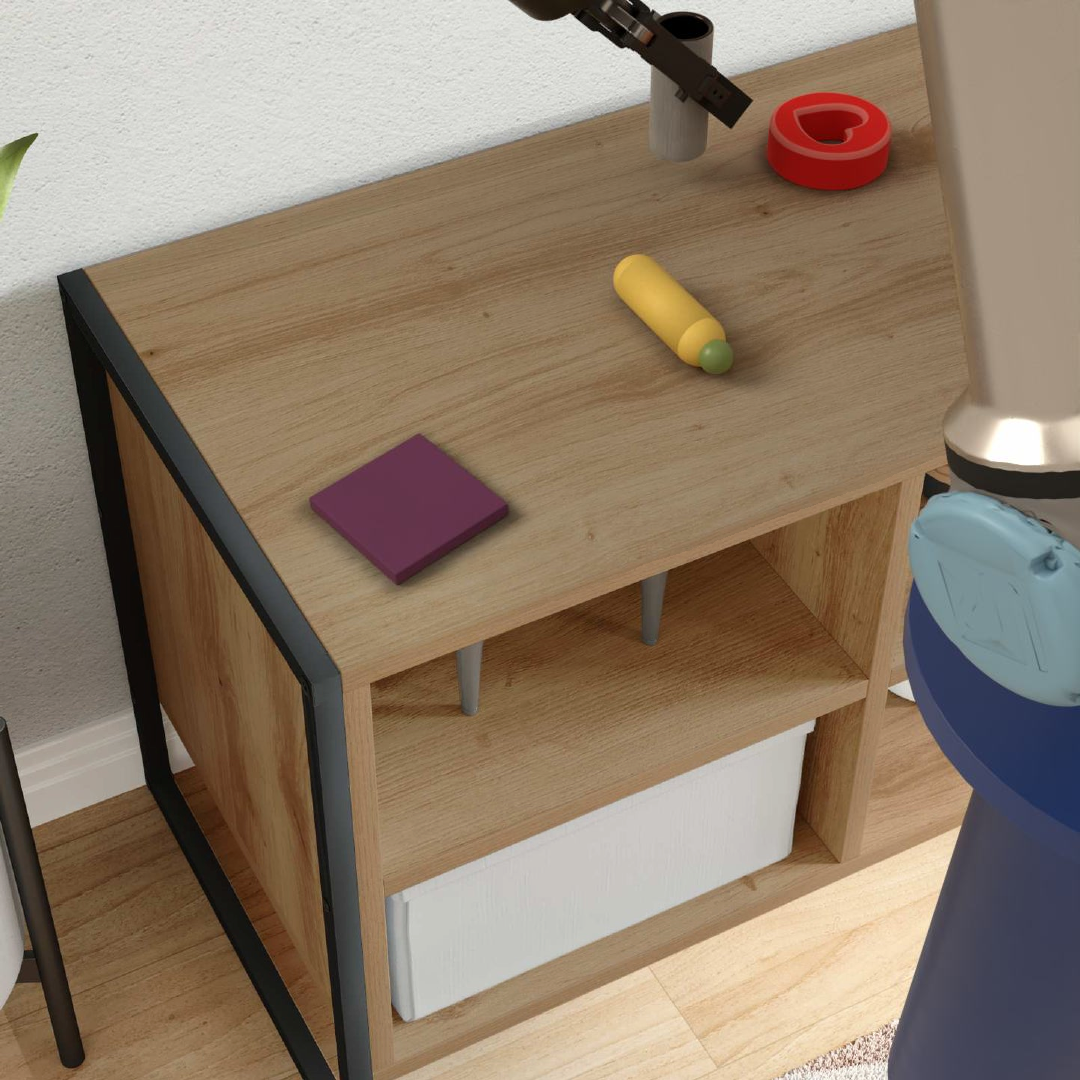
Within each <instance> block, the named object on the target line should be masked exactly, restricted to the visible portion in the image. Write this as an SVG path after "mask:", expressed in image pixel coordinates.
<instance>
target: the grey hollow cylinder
mask: <svg viewBox="0 0 1080 1080" xmlns="http://www.w3.org/2000/svg"><path fill="white" fill-rule="evenodd" d="M655 21H657V22H658V23H659V24H660V25H661V26H662V27H664V28H665V29H666V30H667V31H668V32H670V33H671V34H672V35H673V36H675V37H676V38H677V39H678V40H679V41H681V42H682V43H683V44H684V45H685V46H687V47H688V48H689V49H690V50H691V51H693V52H694V53H695V54H696V55H698V56H699V57H700V58H703V59H704V60H706V61H707V62H708V63H709V64H710V65H711V66H712V65H713V52H714V51H713V49H714V35H715V34H714V33H715V26H714V24H713V22H712V20H711V19H710V18H708V17H707V16H705V15H703V14H702V13H699V12H693V11H687V10H685V11H683V10H681V11H672V12H668V13H665V14H663V15H661V16H660V17H659V18H657V19H656V20H655ZM678 87H679V86H678V85H677V84H676V83H675V82H673V81H672V80H671V79H669V78H668V77H667V76H666V75H664V74H663V73H662V72H661V71H659V70H658V69H657V68H655V67H654V66H653V65H652V64H651V65H650V87H649V89H650V91H649V92H650V93H649V124H648V148H649V151H650V152H651V153H652V155H654V157H656V158H658V159H659V160H663V161H666V162H671V163H685V162H692V161H694V160H696V159H699V158H700V157H701V156H702V155H704V153H705V152H706V150H707V143H708V131H709V116H710V115H709V114H710V112H708V111H707V110H706V109H704V108H703V107H702V106H701V105H699V104H698V103H697V102H696V101H694V100H693V99H691V98H690V97H688V98H687V100H686V101H685V102H684V103H683V102H682V101H680V100H679V99H678V98H677V97H676V96H674V95H675V94H676V92H677V91H678V90H679V88H678Z"/></svg>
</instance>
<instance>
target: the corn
mask: <svg viewBox="0 0 1080 1080" xmlns="http://www.w3.org/2000/svg"><path fill="white" fill-rule="evenodd" d="M612 283H613V288H614V290H615V293H616V294H617V296H618V297H619V298H620V299H621V300H622V301H623V302H624V303H625V304H626V305H627V306H628V307H629V308H630V309H631V310H632V311H633V312H634V314H636V315H637V316H638V317H639V318H640V319H641V320H642V321H643V322H644V323H645V324H646V325H647V327H648V328H650V330H651V331H653V332H654V333H655V335H657V337H659V338H660V340H662V342H663V343H664V344H665V345H666V346H668V347H669V349H670V350H671V351H672V352H673V353H675V355H676V356H677V357H678V358H679V359H680V360H681V361H683V362H684V363H685V364H686V365H689V366H692V367H698V368H702V370H703V371H704V372H706V373H708V374H711V375H721V374H723V373H725V372H727V371H728V370H729V369H730V368H731V366H732V365H733V363H734V350H733V348H732V347H731V345H730V344H729V343H728V342H727V338H726V332H725V330H724V328H723V326H722V325H721V323H720V321H718V320H717V319H716V318H715V317H714V316H713V315H712V314H711V313H710V312H709V311H708V310H707V308H705V307H704V306H703V305H701V303H700V302H698V301H697V300H696V299H695V298H694V296H692V294H691V293H689V291H687V290H686V289H685V288H684V287H683V286H682V285H681V284H680V283H679V282H678V281H676V279H675V278H674V277H673V276H671V275H670V273H668V272H667V271H666V270H665V268H663V267H662V266H661V264H659V263H658V262H657V261H656V260H655V259H654V258H652V257H650V256H648V255H645V254H641V253H639V254H637V253H635V254H632V255H631V254H630V255H629V256H626V257H625V258H623V259H622V260H620V261H619V263H618V264H617V265H616V267H615V268H614V272H613V277H612Z"/></svg>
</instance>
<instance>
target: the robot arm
mask: <svg viewBox="0 0 1080 1080" xmlns="http://www.w3.org/2000/svg"><path fill="white" fill-rule="evenodd" d="M507 1H509V2H510V3H511V4H512V5H513V6H515V8H518V9H519V10H520V11H522V12H523V13H524V14H526V15H527V16H528V17H529V18H531V19H533V20H536V21H540V22H551V21H557V20H559V19H562V18H564V17H566V16H568V15H571V16H572V17H573V18H574V19H575V20H577V21H578V22H579V23H581V24H582V25H583V26H585V27H586V28H587V29H588V30H590V31H591V32H593V33H594V32H596V33H599V34H601V35H602V36H603V37H605V38H606V39H607V40H608V41H609V42H611V43H612V44H614V45H615V46H616V47H617V48H618V49H628V50H631V51H632V52H635V53H636V54H637V55H639V56H640V58H641V60H643V61H644V62H645V63H647V64H648V65H650V66H651V64H652V65H653V66H654V67H655V68H657V69H658V70H659V71H661V72H662V73H663V74H664V75H666V76H667V77H668V78H669V79H671V80H672V81H673V82H675V83H676V84H677V85H678V86H679V87H678V88H679V90H678V91H677V92H676V94H675V95H674V96H676V97H677V98H678V99H679V100H680V101H682V102H683V103H684V102H685V101H686V100H687V98H688V97H690V98H691V99H693V100H694V101H696V102H697V103H698V104H699V105H701V106H702V107H703V108H704V109H706V110H707V111H708V112H709V114H711V115H712V116H713V117H715V118H716V119H717V120H719V121H720V122H721V123H722V124H723V125H725V126H726V127H727V128H729V129H730V130H732V129H733V128H734V127H735V125H736V124H737V123H738V121H739V120H740V119H741V118H742V116H743V115H744V113H746V111H747V110H748V108H749V107H750V106H751V104H752V103H753V102H754V99H752V98H751V97H750V96H749V95H748V94H746V92H744V91H743V90H741V89H740V88H739V87H738V86H737V85H736V84H735V83H733V82H732V81H730V79H728V78H727V77H726V75H725V76H724V74H723V73H721V72H720V71H719V70H718V68H717V67H715V66H714V65H713V64H712V66H711V65H710V64H709V63H708V62H707V61H706V60H704V59H703V58H700V57H699V56H698V55H696V54H695V53H694V52H693V51H691V50H690V49H689V48H688V47H687V46H685V45H684V44H683V43H682V42H681V41H679V40H678V39H677V38H676V37H675V36H673V35H672V34H671V33H670V32H668V31H667V30H666V29H665V28H664V27H662V26H661V25H660V24H659V23H658V22H657V21H655V20H656V19H657V18H659V17H660V16H662V15H661V14H660V13H658V12H657V11H656V10H655V9H652V10H651V7H649V6H648V5H647V4H646V3H645V2H643V1H642V0H507ZM913 6H914V7H913V8H914V13H915V19H916V27H917V35H918V40H919V48H920V54H921V55H920V56H921V61H922V66H923V74H924V80H925V81H924V82H925V88H926V94H927V101H928V107H929V115H930V121H931V122H930V123H931V128H932V134H933V136H932V137H933V142H934V148H935V149H934V150H935V155H936V161H937V170H938V175H939V182H940V188H941V194H942V195H941V196H942V202H943V209H944V216H945V222H946V229H947V236H948V242H949V249H950V256H951V262H952V270H953V276H954V283H955V290H956V291H955V292H956V296H957V304H958V311H959V317H960V324H961V330H962V331H961V332H962V337H963V343H964V351H965V357H966V364H967V371H968V377H969V384H967V386H966V387H965V388H964V389H963V391H962V392H961V393H960V394H959V395H958V396H957V397H956V398H955V400H954V401H953V402H952V403H951V404H950V405H949V406H948V408H947V410H946V411H945V413H944V415H943V419H942V422H941V427H942V436H943V443H944V449H945V454H946V455H945V456H946V462H947V466H948V467H947V468H948V474H949V483H950V484H949V489H948V491H946V492H941V493H939V494H934V495H932V496H931V497H930V498H929V499H928V500H927V502H926V503H925V505H924V507H923V508H922V509H921V510H920V511H919V515H918V516H917V517H916V518H914V520H913V521H912V522H911V525H910V527H909V532H908V537H907V538H908V540H907V552H908V553H907V554H908V561H909V564H910V569H911V572H912V576H913V578H914V579H915V582H916V585H917V587H918V590H919V592H920V594H921V596H922V598H923V600H924V602H925V604H926V606H927V608H928V609H929V611H930V613H931V614H932V616H933V617H934V619H935V620H936V622H937V623H938V625H939V626H940V628H941V629H942V630H943V632H944V633H945V634H946V636H947V637H948V638H949V639H950V640H951V641H952V642H953V643H954V644H955V645H956V646H957V647H958V648H959V649H960V650H961V652H962V653H963V654H964V655H965V656H966V657H967V658H968V659H969V660H970V661H971V662H972V663H973V664H974V665H975V666H976V667H978V668H979V669H980V670H981V671H982V672H984V673H985V674H986V675H988V676H989V677H990V678H992V679H993V680H994V681H996V682H997V683H999V684H1000V685H1002V686H1004V687H1005V688H1007V689H1009V690H1011V691H1013V692H1014V693H1016V694H1018V695H1021V696H1023V697H1025V698H1028V699H1030V700H1033V701H1036V702H1039V703H1043V704H1047V705H1053V706H1063V707H1071V706H1080V0H913Z"/></svg>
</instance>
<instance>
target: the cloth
mask: <svg viewBox="0 0 1080 1080" xmlns="http://www.w3.org/2000/svg"><path fill="white" fill-rule="evenodd" d="M308 500H309V505H310V509H311V510H312V511H313V512H314V513H316V514H317V515H318V516H319V517H320V518H321V519H322V520H324V522H325V523H327V524H328V525H329V526H330V527H331V528H332V529H334V531H335V532H337V533H338V534H339V536H341V537H342V538H344V539H345V540H346V541H347V542H348V543H349V544H350V545H352V546H353V547H354V548H355V549H356V550H357V551H358V552H359V553H360V554H361V555H362V556H364V557H365V558H366V559H367V560H368V561H369V562H370V563H372V564H373V565H374V567H376V568H377V569H378V570H379V571H381V573H383V574H384V575H385V576H386V577H387V578H388V579H389V580H391V581H392V582H393V583H394V584H395V585H396V586H397V585H400V584H401V583H403V582H405V581H406V580H408V579H409V578H411V577H413V576H414V575H416V574H417V573H419V572H420V571H421V570H423V569H425V568H426V567H428V566H430V565H431V564H433V563H434V562H436V561H437V560H439V559H441V558H442V557H444V556H445V555H447V554H448V553H450V552H451V551H453V550H455V549H456V548H458V547H460V546H461V545H462V544H464V543H466V542H467V541H469V540H470V539H472V538H473V537H475V536H477V535H478V534H479V533H481V532H483V531H485V530H486V529H487V528H489V527H491V526H492V525H494V524H495V523H497V522H499V521H500V520H502V519H504V518H505V517H507V515H509V504H508V502H506V501H505V500H504V499H503V498H502V497H500V496H499V495H498V494H497V493H495V492H494V491H493V490H491V489H490V488H489V487H488V486H486V485H485V484H484V483H482V482H481V481H480V480H479V479H478V478H477V477H475V476H474V475H472V474H471V473H470V472H469V471H468V470H467V469H465V468H464V467H463V466H461V465H460V464H459V463H458V462H456V460H454V459H452V458H451V457H450V456H449V455H448V454H446V453H445V452H444V451H443V450H441V449H440V448H439V447H438V446H436V445H435V444H434V443H433V442H432V441H430V440H429V439H427V438H426V437H425V436H424V435H423V434H422V433H420V432H418V433H416V434H415V435H413V436H411V437H410V438H408V439H406V440H404V441H403V442H401V443H399V444H398V445H396V446H394V447H393V448H391V449H389V450H387V451H386V452H384V453H382V454H380V455H379V456H377V457H376V458H374V459H372V460H371V461H368V462H367V463H365V464H363V465H362V466H360V467H359V468H356V469H355V470H353V471H352V472H350V473H348V474H347V475H345V476H343V477H341V478H340V479H338V480H336V481H335V482H333V483H331V484H330V485H327V486H326V487H324V488H323V489H321V490H319V491H318V492H316V493H314V494H313V495H311V496H309V497H308Z"/></svg>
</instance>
